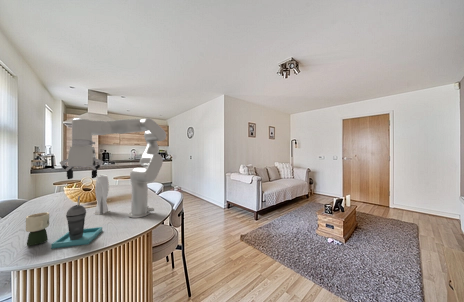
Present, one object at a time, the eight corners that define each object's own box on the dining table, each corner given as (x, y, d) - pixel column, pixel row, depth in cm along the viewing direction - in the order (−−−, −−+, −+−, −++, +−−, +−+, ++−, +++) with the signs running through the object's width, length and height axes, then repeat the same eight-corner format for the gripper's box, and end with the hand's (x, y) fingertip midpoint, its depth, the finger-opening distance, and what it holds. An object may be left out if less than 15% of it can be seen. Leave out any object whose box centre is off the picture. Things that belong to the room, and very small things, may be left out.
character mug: (53, 242, 79) (54, 214, 79) (30, 250, 72) (30, 219, 72) (43, 237, 83) (44, 210, 83) (21, 244, 77) (21, 215, 77)
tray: (102, 230, 91) (102, 226, 91) (88, 244, 78) (89, 239, 78) (70, 234, 87) (71, 230, 87) (51, 248, 74) (51, 243, 74)
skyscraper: (90, 214, 114) (91, 172, 115) (101, 210, 122) (101, 171, 123) (101, 215, 113) (102, 173, 114) (111, 211, 121) (112, 171, 122)
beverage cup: (74, 234, 85) (74, 194, 85) (90, 233, 86) (90, 194, 86) (61, 242, 78) (61, 198, 78) (78, 241, 79) (78, 198, 78)
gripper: (105, 144, 91) (105, 176, 91) (65, 144, 86) (65, 178, 86) (99, 143, 84) (99, 178, 84) (55, 143, 79) (55, 180, 79)
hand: (82, 178), depth 85 cm, fingers open, 9 cm apart
